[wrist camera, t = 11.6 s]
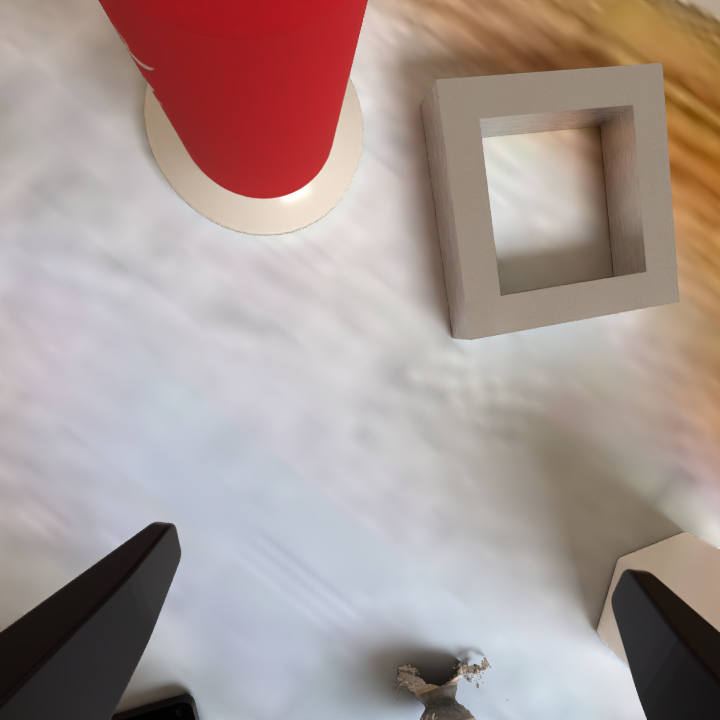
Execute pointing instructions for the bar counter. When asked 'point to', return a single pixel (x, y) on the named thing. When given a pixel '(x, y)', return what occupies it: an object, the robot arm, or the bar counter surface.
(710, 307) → the bar counter surface
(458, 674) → the vase
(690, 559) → the jar
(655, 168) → the square frame
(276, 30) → the beverage can
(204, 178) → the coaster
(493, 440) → the bar counter surface
